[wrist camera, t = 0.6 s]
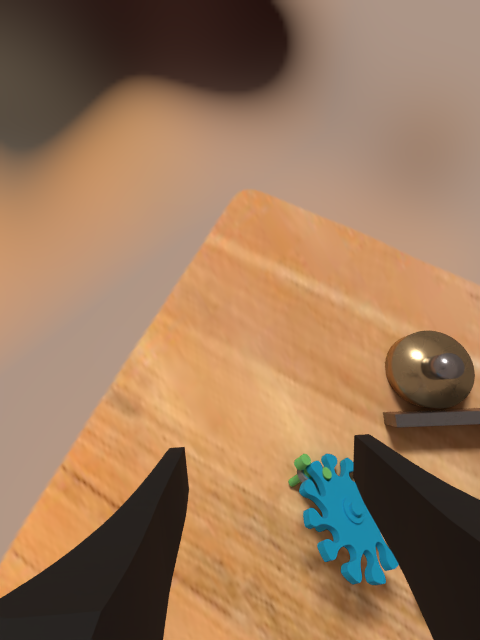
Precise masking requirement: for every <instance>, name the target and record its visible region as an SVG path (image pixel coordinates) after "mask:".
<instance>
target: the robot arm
mask: <svg viewBox="0 0 480 640" xmlns="http://www.w3.org/2000/svg"><path fill="white" fill-rule="evenodd" d="M353 478H354V481H355V483H356V485H357V488H358V490H359V493H360V495H361V497H362V500H363V502H364V504H365V505H366V507H367V509H368V511H369V513H370V514H371V516H372V518H373V520H374V522H375V523H376V525H377V527H378V529H379V530H380V532H381V534H382V536H383V537H384V539H385V541H386V543H387V544H388V546H389V548H390V550H391V551H392V553H393V555H394V557H395V558H396V560H397V562H398V564H399V566H400V568H401V570H402V572H403V574H404V576H405V578H406V580H407V582H408V584H409V586H410V588H411V591H412V593H413V595H414V597H415V599H416V601H417V603H418V606H419V608H420V610H421V612H422V615H423V617H424V619H425V621H426V624H427V626H428V628H429V630H430V633H431V635H432V637H433V639H434V640H480V500H479V499H477V498H475V497H473V496H471V495H469V494H467V493H465V492H463V491H461V490H459V489H457V488H455V487H453V486H451V485H449V484H448V483H446V482H444V481H442V480H440V479H439V478H437V477H435V476H434V475H432V474H430V473H428V472H427V471H425V470H423V469H422V468H420V467H419V466H417V465H415V464H414V463H412V462H411V461H409V460H408V459H406V458H404V457H403V456H401V455H400V454H398V453H397V452H395V451H394V450H392V449H391V448H389V447H388V446H386V445H385V444H383V443H382V442H380V441H379V440H377V439H376V438H374V437H373V436H371V435H369V434H365V435H355V436H354V464H353ZM188 493H189V485H188V476H187V466H186V457H185V447H179V448H170V449H169V450H168V451H167V452H166V453H165V455H164V456H163V457H162V459H161V460H160V461H159V463H158V464H157V465H156V467H155V468H154V469H153V470H152V472H151V473H150V474H149V475H148V477H147V478H146V479H145V480H144V481H143V483H142V484H141V485H140V486H139V487H138V489H137V490H136V491H135V492H134V493H133V494H132V495H131V496H130V498H129V499H128V500H127V501H126V502H125V503H124V504H123V505H122V506H121V507H120V508H119V509H118V510H117V511H116V512H115V513H114V514H113V515H112V516H111V517H110V518H109V519H108V520H107V521H106V522H105V523H104V524H103V525H102V526H100V527H99V528H98V529H97V530H96V531H94V532H93V533H92V534H91V535H90V536H88V537H87V538H86V539H85V540H84V541H83V542H81V543H80V544H79V545H78V546H76V547H75V548H74V549H73V550H71V551H70V552H69V553H67V554H66V555H65V556H63V557H62V558H61V559H59V560H58V561H57V562H55V563H54V564H52V565H51V566H50V567H48V568H47V569H45V570H44V571H42V572H41V573H39V574H38V575H36V576H35V577H33V578H32V579H30V580H29V581H27V582H26V583H24V584H22V585H21V586H19V587H18V588H16V589H15V590H13V591H11V592H10V593H8V594H7V595H5V596H3V597H2V598H0V640H163V636H164V628H165V621H166V613H167V606H168V599H169V592H170V587H171V582H172V577H173V572H174V568H175V563H176V558H177V554H178V550H179V545H180V541H181V536H182V531H183V527H184V522H185V517H186V511H187V502H188Z"/></svg>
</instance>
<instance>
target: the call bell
mask: <svg viewBox="0 0 480 640" xmlns="http://www.w3.org/2000/svg"><path fill="white" fill-rule="evenodd" d="M385 370H386V375H387V378H388V381H389V383H390V385H391V386H392V388H393V389H394V391H395V392H396V393H397V394H398V395H399V396H400V397H401V398H403V399H404V400H406V401H407V402H409V403H411V404H414V405H417V406H420V407H428V408H448V407H452V406H454V405H457V404H458V403H460V402H462V401H463V400H464V399H465V398H466V397H467V396H468V395H469V393H470V391H471V389H472V387H473V384H474V377H475V374H474V366H473V363H472V360H471V358H470V356H469V354H468V353H467V351H466V350H465V349H464V347H463V346H462V345H461V344H460V343H458V342H457V341H456V340H455V339H453V338H452V337H450V336H448V335H446V334H443V333H440V332H436V331H420V332H416V333H413V334H411V335H408V336H406V337H403V338H401V339H400V340H398V341H397V342H395V343H394V344H393V346H392V347H391V348H390V350H389V352H388V354H387V357H386V362H385Z"/></svg>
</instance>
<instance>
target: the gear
mask: <svg viewBox="0 0 480 640" xmlns="http://www.w3.org/2000/svg"><path fill="white" fill-rule="evenodd" d="M321 460H322V463H323V465H324V468H322V465H321V463H320V462H319V461H314V462H313V463H311V459H310V457H309V456H308V455H307V454H303V455H301V456H300V457H299V458H297V459H296V460H295V462H294V465H295V467H296V468H297V475H295V476H294V477H292V478H291V479H290V480H289V485H290V486H291V487H293V486H295V485H297V484H298V483H300V482H302V484H301V486H300V490H299V492H300V494H301V495H302V496H303V497H305V498H308V499H310V500H312V501H313V502H314V503H315V504H316V505H317V506H318V508H319V509H320V510H321V512H322V515H323V517H321V516H320V514H319V513H318V512H317V511H316V510H315V509H314V508H309V509H307V510H305V511H304V513H303V518H304V524H305V527H306V528H308V529H312V528H315V529H316V531H318V532H322V531H324V530H326V529H327V530H329V531H330V532H331V534H332V536H333V541H331V540H329V539H326V540H323V541H321V542H319V543H318V545H317V547H318V550H319V552H320V554H321V556H322V558H323V560H324V562H328V561H332V560H334V559H336V557H337V553H338V551H339V549H340V548H341V547H345V548H346V549H347V550H348V551H349V554H350V561H349V562H347V563H344V564H343V565H342V566H341V573H342V575H343V576H344V577H345V579H346V580H348V581H349V582H350V583H351V584H357V583H360V582H361V580H362V573H361V557H362V554H364V555H365V557H366V559H367V567H366V569H365V578H366V581H367V583H369V584H371V585H380V584H385V583H386V579H385V575H384V573H383V571H382V569H381V567H380V565H379V562H378V559H377V555H376V547H377V549H378V551H379V558H380V563H381V566H382V567H383V569H384V570H385V571H387V570H392V569H395V568H396V567H397V566H398V565H399V564H398V562H397V560H396V558H395V557H394V555H393V553H392V551H391V550H390V549H389V547H388V546H387V545H386V543H385V541H384V539H383V537H382V535H381V533H380V530H379V529H378V527H377V525H376V523H375V522H374V520H373V518H372V516H371V514H370V513H369V511H368V509H367V507H366V505H365V504H364V502H363V500H362V497H361V495H360V493H359V490H358V488H357V485H356V483H355V482H354V481H352V480H351V478H350V476H349V473H351V472H353V464H354V463H353V462H352V461H351V460H350V459H349V458H345V459H344V460H342V461H341V462H340V466H341V473H340V476H338V475H337V474H336V473H335V470H334V467H335V466H336V464H337V458H336V457H335V456H334V455H331V454H325V455H324V456H322V458H321ZM326 480H327V481H326Z"/></svg>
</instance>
